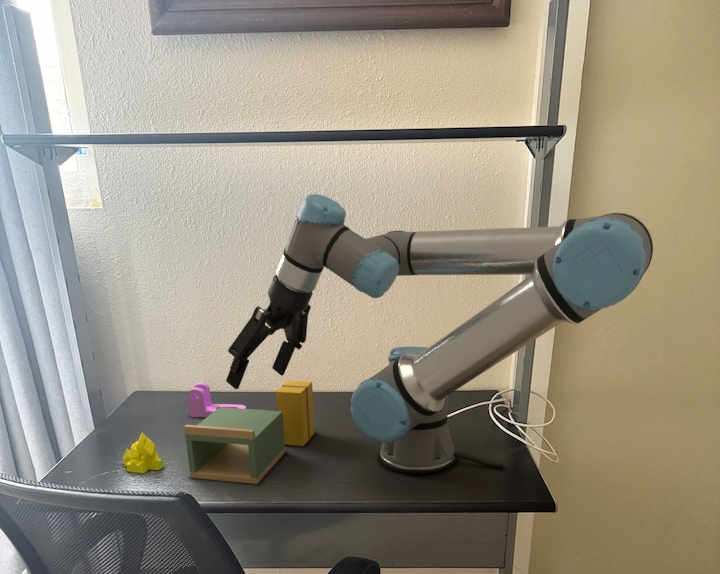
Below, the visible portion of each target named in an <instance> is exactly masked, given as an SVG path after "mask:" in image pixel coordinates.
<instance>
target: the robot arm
mask: <svg viewBox="0 0 720 574" xmlns="http://www.w3.org/2000/svg"><path fill="white" fill-rule="evenodd" d="M346 217H347V212H346V209H345V208H344V207H343V206H342V205H341V204H340V203H339V202H338V201H335V200H334V199H332V198H330V197H328V196H325V195H322V194H318V193H312V194H308V195H306V196H305V197H304V199H303V201H302V204H301V206H300V208H299V210H298V212H297V215H296V216H295V218H294V222H293V225H292V228H291V231H290V233H289V236H288V239H287V242H286V244H285V247H284V249H283V252H282V254H281V258H280V260H279V262H278V265H277V268H276V270H275V274H274V276H273V277H272V279H271V283H270V285H269V287H268V291H267V296H268V298H269V303H268V305H267V306H266V308H262V307H260V305H257V306H256V307H255V308H254V310H253V312H252V315H251V317H250V318H249V320H247V322H246V324H245V325H244V327H243V328H242V329H241V331H240V332H239V334H238V335H237V337H236V338H235V339H234V341H232V344H231V345H230V346H229V348H228V350H227V352H228V353H229V354H230V355H231V356H233V359H232V362H231V364H230V367H229V371H228V374H227V377H226V380H225V382H226V383H227V384H228V385H230V387H232V388H233V389H234V390H239V388H240V386H241V383H242V381H243V378H244V375H245V373H246V370H247V368H248V366H249V363H250V359H248V358H249V357H250V356H252V354H253V353H254V352H255V351H256V350H257V349H258V348H259V346H261V344H262V343H263V342H264V341H265V340H266V338H267V337H269V336H273V335H274V334H275V332H277V331H279V330H283V331H284V335H285V339H286V340H283V341H282V343H281V345H280V347H279V350H278V353H277V355H276V357H275V360H274V362H273V364H272V367H271V369H273V371H275V372H276V373H277V374H279V376H284V375H285V373H286V371H287V368H288V366H289V364H290V361H291V359H292V356H293V354H294V352H295V349H296V350H301V349H302V348H303V344H305V343H306V341H307V334H308V333H307V332H308V323H309V322H308V320H309V314H310V311H311V307H312V306H311V305H310V304H309V303H310V301H311V299H312V296H313V292H314V291H315V290H316V287H317V285H318V283H319V281H320V277H321V275H322V273H323V271H324V268H326V269H327V270H329V271H331V273H333V274H335V275H336V276H338V277H339V278H340V279H342V280H343V281H344V282H346V283H348V284H349V285H350V286H351V287H352V286H353V287H354V288H355V289H356V290H357V291H358V292H360V293H363V294H365V295H366V296H368V297H370V298H372V299H379V298H381V297H383V296H384V295H385V294H386V293H388V291H389V290H390V289H391V287H392V286H393V284H394V282H395V281H396V279H397V277H398V276H404V277H406V276H407V277H408V276H409V277H410V276H480V275H481V276H484V275H485V276H493V275H494V276H499V275H501V276H504V275H507V276H509V275H510V276H511V275H512V276H514V275H517V276H518V275H519V276H521V275H529V276H528V277H527V278H525V279H524V280H522V281H520V282H519V283H518V284H516V285H515V286H514V287H512V288H511V289H510V290H508V291H506V292H505V293H504V294H502V295H501V296H499V297H497V298H496V299H495V300H494V301H492V302H491V303H489V304H488V305H486V306H485V307H484V308H482V309H481V310H479V311H478V312H477V313H475V314H474V315H472V316H471V317H469V318H468V319H467V320H466V321H464V322H463V323H461V324H460V325H459V326H457V327H456V328H454V329H453V330H451V331H450V332H448V333H447V334H445V335H444V336H442V338H440V339H438V340H437V341H435V342H434V343H433V344H431V345H430V346H398V347H393V348H391V350H390V351H389V355H388V358H387V361H388V365H387V366H385V367H384V368H382V369H381V370H380V371H378V372H377V373H375V374H374V375H372V376H371V377H369V378H366V379H364V380H363V381H361V383H359V385H358V386H357V387H356V388H355V389H354V391H353V393H352V396H351V398H350V413H351V414H350V415H351V417H352V420H353V422H354V424H355V426H356V427H357V428H358V430H359V431H360V432H361V433H362V434H363V435H364V436H365V437H367V438H368V439H369V440H372V441H375V442H378V443H380V444H381V447H380V452H379V454H380V456H379V457H380V463H381V464H382V465H383V466H385V467H386V468H388V469H389V470H393V471H395V472H399V473H405V474H410V475H411V474H412V475H413V474H414V475H425V474H434V473H438V472H443V471H445V470H447V469H449V468H451V467H452V466H453V465H454V464H455V462H456V458H459V459H463V460H467V461H470V462H473V463H476V464H480V465H483V466H486V467H490V468H495V469H496V468H497V469H504V463H500V462H492V461H489V460H485V459H482V458H479V457H475V456H472V455H469V454H465V453H460V452H457V451H456V449H455V445H454V441H453V438H452V435H451V432H450V429H449V425H448V413H449V410H448V409H449V395H451V394H452V393H454V392H455V391H457V390H458V389H460V388H462V387H463V386H465V385H467V384H468V383H469V382H471V381H473V380H474V379H475V378H477V377H479V376H481V375H482V374H484V373H485V372H486V371H488V370H490V369H492V368H493V367H494V366H496V365H497V364H499V363H501V362H502V361H504V360H505V359H507V358H509V357H510V356H512V355H513V354H515V353H516V352H518V351H519V350H521V349H523V348H524V347H525V346H527V345H529V344H530V343H532V342H533V341H536V340H537V339H538V338H539V337H541V336H543V335H544V334H546V333H547V332H549V331H551V330H552V329H554V328H556V327H557V326H558V325H560V324H562V323H567V324H572V325H579V324H580V323H582V322H584V321H585V320H587V319H588V318H590V317H591V316H593V315H595V314H597V313H598V312H599V311H601V310H603V309H606V308H607V309H608V308H610V307H612V306H615V305H617V304H619V303H620V302H622V301H623V300H625V299H626V298H628V297H629V296H630V295H631V294H632V293H633V292H634V291H635V289H636V288H637V287H638V286H639V284H640V282H641V281H642V279H643V277H644V275H645V274H646V272H647V271H648V269H649V267H650V265H651V262H652V259H653V253H654V243H653V238H652V235H651V233H650V230H649V229H648V227H647V226H646V225H645V223H644V222H642V221H641V220H640V219H639V218H638V217H636V216H634V215H632V214H628V213H624V212H611V213H606V214H603V215H598V216H592V217H585V218H569V219H566V220H564V221H563V223H561V224H560V225H558V226H535V227H534V226H532V227H531V226H529V227H508V228H507V227H506V228H505V227H504V228H479V229H451V230H450V229H449V230H427V231H426V230H424V231H406V230H390V231H388V232H386V233H383V234H380V235H375V236H372V237H367V238H365V237H363V236H362V235H360V234H358V233H357V232H356V231H353V230H352V229H351V228H349V227H348V226H347V225H346V224H345V222H346Z"/></svg>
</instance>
